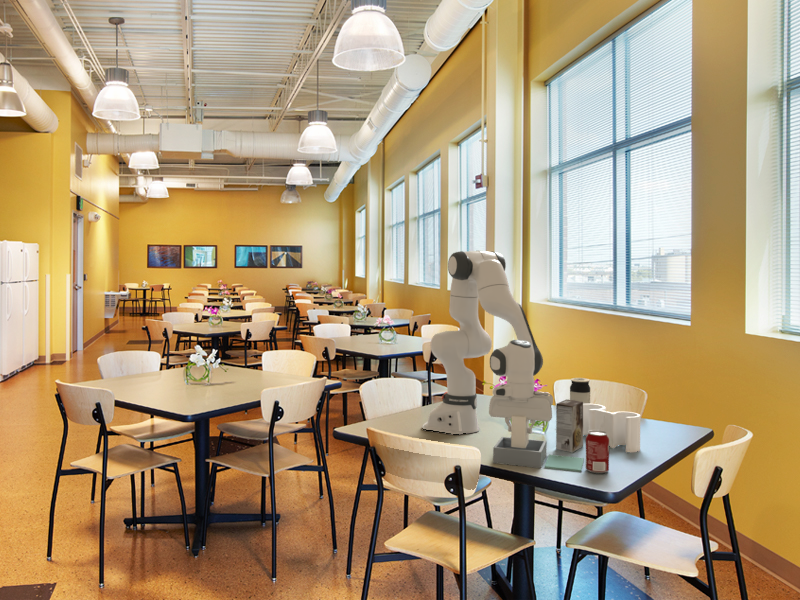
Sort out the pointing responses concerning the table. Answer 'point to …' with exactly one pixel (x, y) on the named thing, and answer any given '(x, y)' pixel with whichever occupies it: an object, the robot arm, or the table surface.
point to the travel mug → (580, 390)
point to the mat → (564, 463)
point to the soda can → (597, 452)
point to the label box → (519, 431)
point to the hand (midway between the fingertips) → (520, 432)
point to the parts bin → (520, 453)
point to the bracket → (613, 426)
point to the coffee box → (569, 425)
